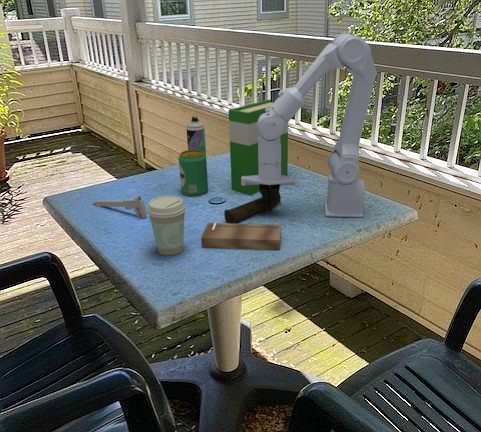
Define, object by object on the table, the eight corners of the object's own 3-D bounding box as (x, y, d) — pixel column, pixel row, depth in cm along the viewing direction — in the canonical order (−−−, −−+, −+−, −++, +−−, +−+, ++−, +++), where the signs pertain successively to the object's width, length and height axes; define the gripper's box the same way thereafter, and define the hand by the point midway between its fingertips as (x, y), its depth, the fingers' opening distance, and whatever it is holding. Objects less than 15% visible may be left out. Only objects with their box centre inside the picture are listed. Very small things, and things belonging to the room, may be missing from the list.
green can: (179, 189, 147) (175, 151, 142) (204, 185, 149) (202, 147, 144) (184, 198, 140) (181, 158, 135) (211, 194, 142) (208, 155, 137)
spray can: (192, 175, 157) (187, 114, 149) (209, 176, 156) (205, 114, 148) (188, 181, 152) (183, 118, 144) (205, 182, 151) (201, 118, 143)
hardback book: (269, 174, 156) (268, 99, 146) (287, 179, 152) (288, 102, 142) (231, 190, 145) (228, 109, 135) (250, 195, 140) (248, 113, 130)
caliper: (147, 218, 128) (144, 196, 126) (144, 220, 128) (141, 198, 125) (94, 203, 139) (91, 183, 136) (91, 205, 138) (88, 184, 135)
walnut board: (281, 234, 117) (281, 224, 116) (279, 249, 110) (279, 239, 109) (208, 232, 119) (207, 222, 118) (201, 247, 112) (201, 237, 111)
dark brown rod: (233, 227, 122) (232, 210, 120) (223, 222, 125) (222, 205, 123) (287, 206, 133) (287, 191, 131) (277, 202, 135) (277, 187, 134)
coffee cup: (157, 262, 106) (151, 212, 101) (148, 245, 114) (142, 198, 109) (194, 253, 109) (190, 205, 104) (183, 238, 117) (178, 192, 112)
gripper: (298, 156, 124) (297, 205, 130) (243, 156, 126) (244, 204, 132) (298, 165, 118) (297, 216, 124) (239, 164, 120) (241, 214, 125)
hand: (269, 210), depth 127 cm, fingers closed
